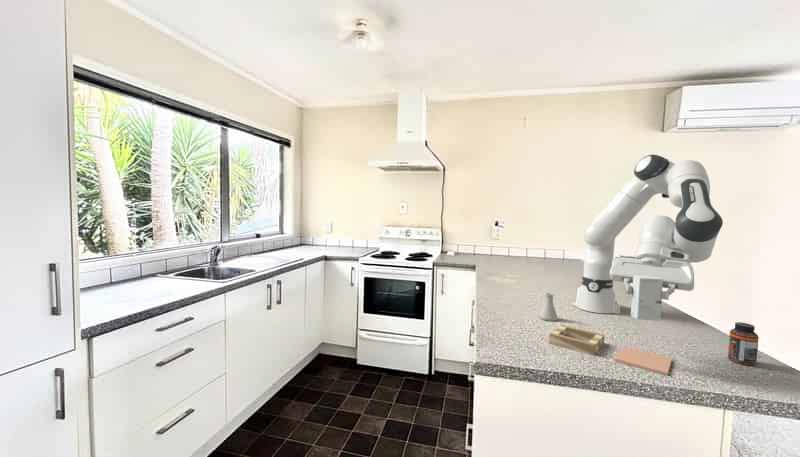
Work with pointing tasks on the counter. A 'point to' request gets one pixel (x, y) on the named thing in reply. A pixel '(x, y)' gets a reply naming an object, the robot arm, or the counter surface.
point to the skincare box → (646, 298)
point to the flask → (548, 309)
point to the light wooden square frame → (577, 339)
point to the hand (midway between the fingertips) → (646, 295)
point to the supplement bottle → (743, 344)
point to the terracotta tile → (644, 360)
